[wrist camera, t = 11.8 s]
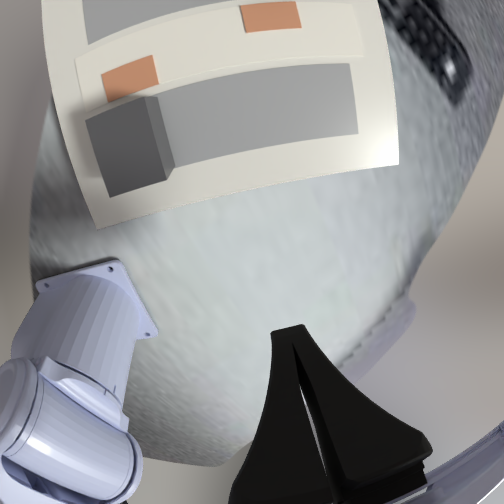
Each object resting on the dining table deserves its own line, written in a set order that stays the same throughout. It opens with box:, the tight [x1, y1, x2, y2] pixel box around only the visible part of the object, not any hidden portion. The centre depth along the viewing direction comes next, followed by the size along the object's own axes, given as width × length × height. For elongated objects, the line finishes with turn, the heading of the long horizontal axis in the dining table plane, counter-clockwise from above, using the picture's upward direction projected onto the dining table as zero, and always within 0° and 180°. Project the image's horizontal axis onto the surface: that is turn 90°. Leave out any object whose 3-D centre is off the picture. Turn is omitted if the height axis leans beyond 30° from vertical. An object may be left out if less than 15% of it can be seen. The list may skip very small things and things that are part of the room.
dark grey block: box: [85, 96, 175, 198], centre depth 12 cm, size 3×4×3 cm
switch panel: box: [41, 0, 399, 230], centre depth 12 cm, size 20×18×2 cm
